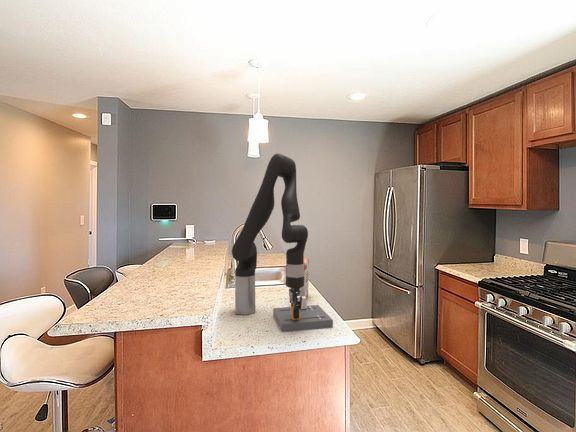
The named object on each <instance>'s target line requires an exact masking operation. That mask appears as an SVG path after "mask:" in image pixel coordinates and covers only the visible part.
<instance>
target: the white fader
mask: <svg viewBox="0 0 576 432" xmlns="http://www.w3.org/2000/svg"><path fill="white" fill-rule="evenodd" d="M307 299H308V298H306V297H305V296H302V303H301V309H307V306H308V305H307V304H308V303H307V301H308V300H307Z"/></svg>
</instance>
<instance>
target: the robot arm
mask: <svg viewBox="0 0 576 432" xmlns="http://www.w3.org/2000/svg"><path fill="white" fill-rule="evenodd" d="M279 177H280V178H282V180H283V183H284V191H283V194H282V196H281V200H280V203H281V204H280V206H281V211H282V229H281V239H282V240H283V241H284V243H286V244H292V243H293V244H295V246H294V247H291V248H289V249H287V250H286V256H285V257H286V258H285V259H286V263H285V265H286V266H285V286H286V287H287V288H288V293H289V303H290V307H291V306H293V318H294V319H298V318H299V309H301V303H302V296H301V291H300V288H301V287H303V286H304V258H305V257H304V255H305V249H306V245H307V242H308V236H309V231H308V228H307V227H306V226H305V225H303V224H298V225H297V224H293V225H291V223H294V222H296V221H299V220H300V218H301V213H300V207H299V201H298V194H297V166H296V162H295V160H293V159H292V158H290V157H288V156H286V155H284V154H281V153H275V154H273V155H272V157H271V158H270V160H269V162H268V164H267V167H266V170H265V173H264V176H263V179H262V181H261V184H260V187H259V190H258V192H257V194H256V195H255V196H256V197H255V199H254V201H253V203H252V204H251V205H252V206H251V208H250V210H249V212H248V215H247V218H246V220H245V222H244V224H243V227H242V228H241V231H240V233H239V235H238V237H237V238H236V240H235V242H234V243H233V245H232V249H231V256H232V258H233V259H234V260H235V261H236V262H238V264H237V266H236V268H235V270H234V311H235V314H236V315H240V316H241V315H242V316H243V315H244V316H246V315H252V314H254V313H256V270H257V264H258V263H257V261H258V249H257V246H256V243H255V240H256V238H257V236H258V234H259V233H260V232H261V230H262V229H263V228H264V227H265V226H266V225H267V223H268V221H269V219H270V217H271V215H272V213H273V211H274V209H275V190H274V189H275V185H276V183H277V180H278V178H279ZM296 305H298V306H296Z"/></svg>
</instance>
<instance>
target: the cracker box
mask: <svg viewBox="0 0 576 432" xmlns="http://www.w3.org/2000/svg"><path fill="white" fill-rule="evenodd" d="M309 262H310V261H309V258H307V257H304V286H303V287H301V288H300V291H301V296H305V297H306V298H307V299H308V298H309V265H310V264H309Z"/></svg>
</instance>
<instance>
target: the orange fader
mask: <svg viewBox="0 0 576 432" xmlns="http://www.w3.org/2000/svg"><path fill="white" fill-rule="evenodd" d="M296 306H298V305H296ZM290 307H291V318H292V320H298V319H300V309H299V318H298V319H294V318H293V306H291V305H290Z"/></svg>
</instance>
